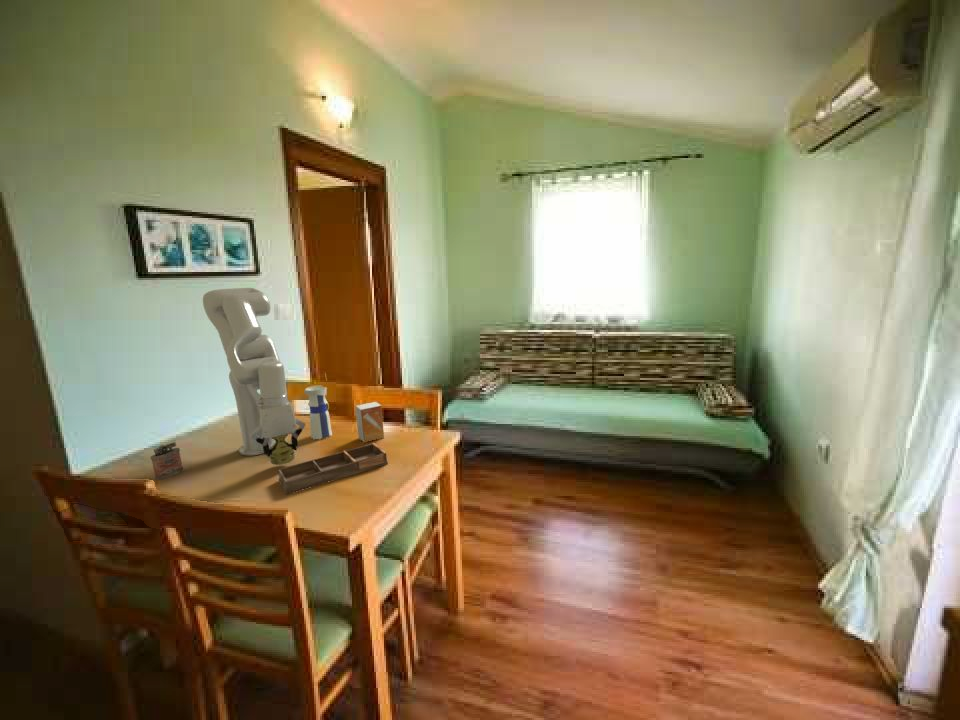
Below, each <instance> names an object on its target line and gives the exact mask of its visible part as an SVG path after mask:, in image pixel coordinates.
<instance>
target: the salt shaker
mask: <svg viewBox="0 0 960 720" xmlns="http://www.w3.org/2000/svg"><path fill="white" fill-rule="evenodd" d="M288 435H289V434H287V435H283V436H279V437H274V438H272V440H275V441H276V442H275V444H274V445H273V446H272V447H270V449H269V450H270V457H269V462H270V463H271V464H272V465H275V466H276V465H277V466H279V465H280V466H281V465H286V464H288V463H291V462H292V461H293V460H295V457H296V456H295V450H294V446H293V445H292V442H291V443H290V442H288V441H286V438H287V437H288Z"/></svg>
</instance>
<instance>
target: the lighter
mask: <svg viewBox="0 0 960 720" xmlns="http://www.w3.org/2000/svg"><path fill="white" fill-rule="evenodd" d="M176 443H177V442H170V443H167V444H165V445H164V444H160V445H159V446H158V447H156V448H153V452H154V454H153V455H151V456H150V460H151V462H152V467H153V472H154V480H162V479H166V478H168V477H172V476H174V475H176V474H178V473H180V472H183V471H184V466H183V463H182V458H181V453H180V451H181V450H180V448H179V447H177V444H176Z"/></svg>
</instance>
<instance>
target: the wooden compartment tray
mask: <svg viewBox="0 0 960 720" xmlns="http://www.w3.org/2000/svg"><path fill="white" fill-rule="evenodd" d="M388 464H389V461H388V460H387V452H386V451H385V450H384V449H382V448H381V447H380V446H379V445H378V444H376V443H374V442H371V443H369V444H366V445H363V446H358V447H355V448H352V449H347V450H345V449H344V450H342V451H340V452H336V453H333V454H328V455H325V456H322V457H317V458H315V459H310V460H307V461H303V462H299V463H295V464H293V465H289V466H284V467H282V468H278V469H277V471H278V482H279V483H280V485H282V486H281V487H282V489H283V491H284V490H285V491H284V492H286V493H285V494H286V495H287V494H289V495H291V494H290V493H292V494H294V493H293V492H295V493H297V492H296V491H298V492H300V491H299V490H302V489H305V490H307V489H306V488H308V489H310V488H309V487H311V488H314V487H313V486H315V487H317V486H316V485H318V486H320V485H319V484H321V485H323V484H322V483H325V482H328V481H331V482H333V481H332V480H334V481H336V480H335V479H338V480H339V478H341V479H343V478H342V477H344V478H347V477H350V475H351V476H353V474H354V475H356V473H357V474H360V473H364V472H367V471H369V470H373V469H376V468H379V467H382V466H386V465H388ZM366 470H367V471H366ZM363 471H364V472H363ZM359 472H360V473H359ZM346 476H347V477H346ZM328 483H329V482H328ZM325 484H326V483H325ZM302 491H303V490H302Z"/></svg>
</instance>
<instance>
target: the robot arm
mask: <svg viewBox="0 0 960 720" xmlns="http://www.w3.org/2000/svg"><path fill="white" fill-rule="evenodd" d="M202 305H203V308H204V312H205V314H206V316H207V318H208V320H209V321H210V323H212V325H213V326H214V327H215V329H216V330H217V333H218V335H219V338H220V342H221V345H222V347H223V350H224V354H225V355H226V361H227V364H228V367H229V370H230V371H229V373H228V378H229V383H230V386H231V388H232V391H233V395H234V398H235V404H236V407H237V408H236V409H237V415H238V421H239V425H240V433H241V439H242V444H243V445H241V447H240V448H239V449H238V450H239V452H238V453H239V454H240V455H243V456H249V457H251V456H258V455H263V454H264V455H266V457H267V458H270V450H269V449H270V447H272V446H273V445H274V444H275V442H276V441H275V440H274V439H272V438H274V437H279V436H283V435H287V434H288V435H291V437H290V438H291V439H290V440H291V441H290V442H291V444H292V445H293V446H294V449H293V451H297V449H298V448H297V447H298V446H299V443H298V438H299V436H300V435H301V434H302V432H303V430H304V428H305V426H306V423H305V422H303V421H301V420H299V419H297V418H296V416H295V411H294V408H293V407H294V406H293V404H292V402H291V401H289V400H288V398H289V397H288V391H287V382H286V381H287V380H286V374H285V366H284V364H283V362H282V361H281V360H280V357H279V354H278V352H277V348H276V345H275V343H274V341H273V340H272V338H271V337H270V336H269V335H266V334H262V331H263V330H262V327H261V325H260V323H259V320H258V318H257V317H263V316H264V317H265V316H267V315H269V314H270V312H271V303H270V301H269V298H268V296H267V294H265V293H264V292H263V291H261V290H259V289H256V288H254V287H239V288H238V287H237V288H220V289H212V290H210V291H207V292H205V293H204V294H203V297H202ZM258 391H259V392H258ZM297 425H298V427H297Z"/></svg>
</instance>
